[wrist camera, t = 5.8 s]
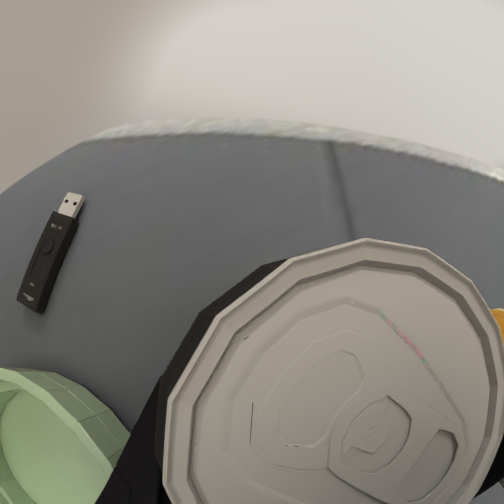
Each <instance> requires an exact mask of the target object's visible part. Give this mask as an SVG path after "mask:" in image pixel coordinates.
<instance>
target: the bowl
mask: <svg viewBox="0 0 504 504" xmlns="http://www.w3.org/2000/svg"><path fill="white" fill-rule="evenodd" d="M130 435H131V434H130V433H129V432H128V431H127V429H126V428H125V427H124V426H123V424H122V423H121V422H120V421H119V419H118V418H117V417H116V416H115V414H114V413H113V412H112V410H110V408H108V407H107V406H106V405H105V404H103V403H102V402H101V401H100V400H98V399H97V398H96V397H95V396H94V395H93V394H91V393H90V392H89V391H88V390H87V389H86V388H85V387H82V386H81V385H79V384H77V383H75V382H73V381H71V380H69V379H67V378H65V377H63V376H61V375H59V374H58V373H55V372H49V371H42V370H36V369H26V368H12V367H0V504H94V503H95V502H96V500H97V499H98V497H99V495H100V494H101V492H102V490H103V489H104V487H105V485H106V483H107V481H108V479H109V477H110V475H111V473H112V471H113V469H114V467H117V466H116V463H117V461H118V459H119V457H120V455H121V453H122V451H123V449H124V447H125V445H126V443H127V441H128V439H129V437H130Z"/></svg>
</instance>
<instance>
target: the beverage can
mask: <svg viewBox="0 0 504 504" xmlns="http://www.w3.org/2000/svg"><path fill="white" fill-rule="evenodd" d="M503 434H504V344H503V339H502V335H501V331H500V327H499V325H498V323H497V321H496V319H495V318H494V316H493V314H492V312H491V311H490V309H489V307H488V306H487V304H486V302H485V301H484V299H483V298H482V296H481V294H480V293H479V291H478V290H477V288H476V287H475V285H474V284H473V282H472V281H471V280H470V279H469V278H467V277H466V276H465V275H463V274H462V273H461V272H459V271H458V270H457V269H455V268H454V267H452V266H451V265H450V264H448V263H447V262H445V261H444V260H443V259H441V258H440V257H438V256H437V255H435V254H434V253H432V252H431V251H429V250H428V249H426V248H421V247H415V246H410V245H404V244H399V243H393V242H387V241H381V240H376V239H370V238H362V239H359V240H355V241H352V242H348V243H344V244H341V245H337V246H333V247H329V248H325V249H321V250H318V251H314V252H310V253H306V254H303V255H299V256H295V257H291V258H288V259H284V260H280V261H276V262H273V263H269V264H265V265H262V266H260V267H259V268H258V269H256V270H255V271H254V272H252V273H251V274H250V275H248V276H247V277H246V278H244V279H243V280H242V281H241V282H239V283H238V284H237V285H235V286H234V287H233V288H231V289H230V290H229V291H227V292H226V293H225V294H223V295H222V296H221V297H219V298H218V299H217V300H215V301H214V302H213V303H211V304H210V305H209V306H207V307H206V308H205V309H203V310H202V311H201V312H199V314H198V316H197V318H196V319H195V321H194V323H193V324H192V326H191V328H190V329H189V331H188V333H187V335H186V336H185V338H184V340H183V341H182V343H181V345H180V346H179V348H178V350H177V352H176V353H175V355H174V357H173V358H172V360H171V362H170V364H169V365H168V367H167V369H166V371H165V372H164V374H163V376H162V377H161V379H160V385H159V395H158V406H157V418H156V432H155V448H154V454H155V457H156V459H157V462H158V464H159V467H160V469H161V471H162V474H163V478H162V483H163V486H164V488H165V490H166V492H167V494H168V497H169V499H170V501H171V503H172V504H469V503H470V501H471V500H472V499H473V498H474V496H475V495H476V494H477V492H478V491H479V489H480V487H481V485H482V483H483V481H484V479H485V477H486V475H487V473H488V471H489V469H490V467H491V465H492V462H493V460H494V458H495V455H496V453H497V451H498V448H499V446H500V443H501V440H502V438H503Z"/></svg>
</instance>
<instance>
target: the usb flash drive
mask: <svg viewBox="0 0 504 504" xmlns="http://www.w3.org/2000/svg"><path fill="white" fill-rule="evenodd" d="M84 200H85V198H84V197H83V196H82V195H78V194H75V193H71V192H68V193H67V195H66V197H65V199H64V201H63V203H62V204H61V206H60V208H59V210H58V212H53V213H52V214H51V216H50V218H49V220H48V222H47V225H46V227H45V229H44V231H43V233H42V235H41V237H40V239H39V242H38V244H37V246H36V248H35V251H34V253H33V256H32V258H31V260H30V263H29V265H28V268H27V270H26V273H25V276H24V278H23V281H22V284H21V287H20V290H19V293H18V296H17V301H19V302H20V303H22V304H24V305H25V306H27V307H29V308H30V309H32V310H34V311H36V312H38V313H43V310H44V307H45V304H46V301H47V298H48V296H49V293H50V290H51V287H52V284H53V282H54V279H55V276H56V274H57V271H58V269H59V266H60V264H61V261H62V259H63V257H64V254H65V252H66V250H67V247H68V245H69V243H70V241H71V238H72V236H73V234H74V232H75V230H76V228H77V226H78V222H77V221H76V220H75V218H76V216H77V214H78V212H79V210H80V208H81V206H82V204H83V202H84Z"/></svg>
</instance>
